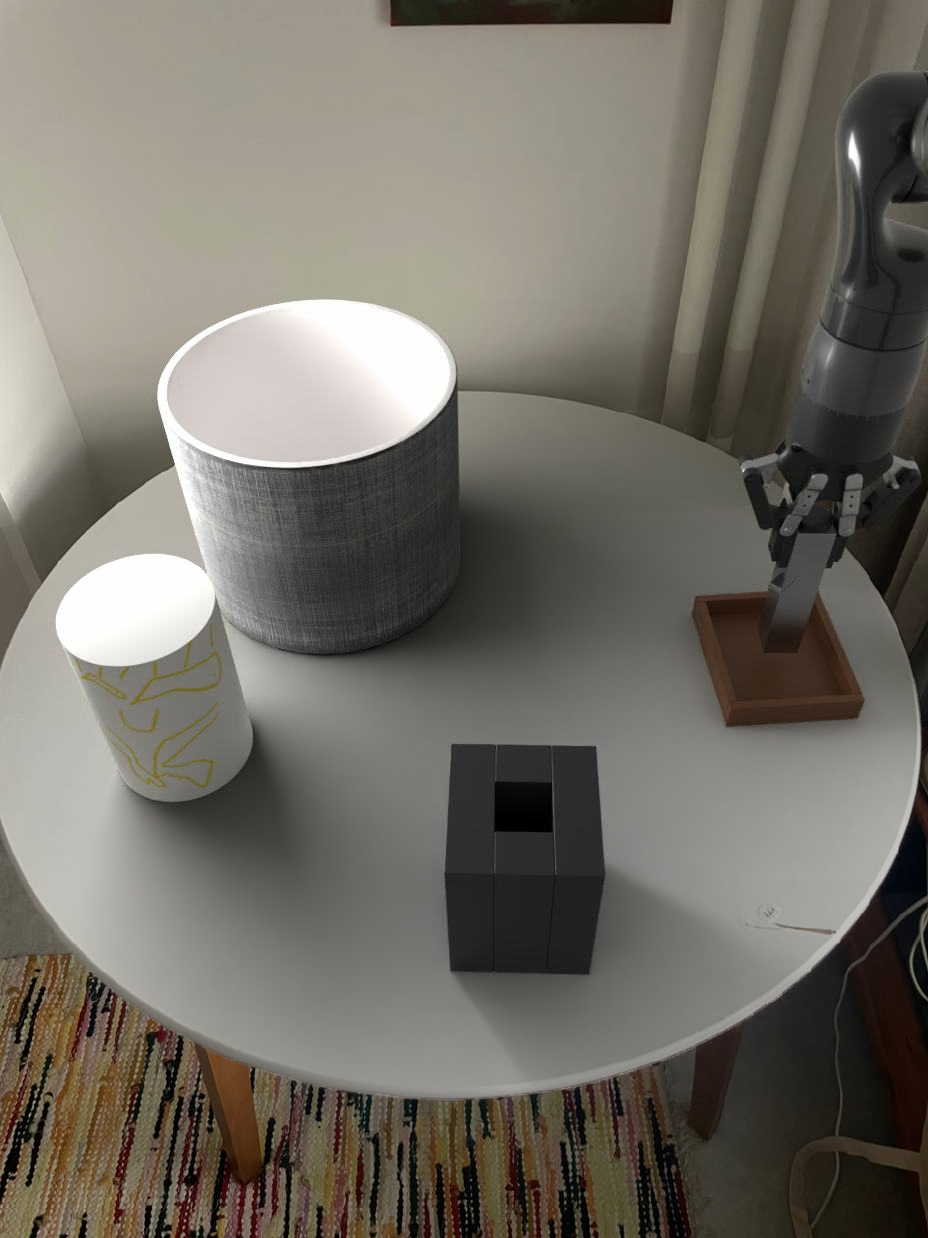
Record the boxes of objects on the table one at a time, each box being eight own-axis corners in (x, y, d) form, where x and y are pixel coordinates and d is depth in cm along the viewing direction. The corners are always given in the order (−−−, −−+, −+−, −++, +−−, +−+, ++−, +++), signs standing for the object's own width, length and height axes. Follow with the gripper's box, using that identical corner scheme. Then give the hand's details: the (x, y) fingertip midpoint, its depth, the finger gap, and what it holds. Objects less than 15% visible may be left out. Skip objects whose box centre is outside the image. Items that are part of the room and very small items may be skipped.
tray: (858, 718, 89) (865, 700, 87) (725, 727, 89) (730, 709, 87) (811, 606, 98) (817, 588, 97) (691, 613, 98) (695, 595, 96)
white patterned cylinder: (115, 813, 84) (50, 678, 71) (118, 705, 91) (60, 566, 79) (257, 787, 85) (218, 651, 73) (248, 683, 93) (211, 543, 81)
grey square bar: (803, 617, 93) (843, 492, 82) (816, 665, 89) (860, 540, 79) (739, 616, 93) (771, 491, 83) (749, 664, 89) (784, 539, 79)
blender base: (582, 852, 80) (596, 745, 70) (589, 975, 74) (605, 876, 63) (455, 849, 81) (450, 743, 71) (450, 972, 74) (444, 873, 64)
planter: (188, 660, 95) (127, 470, 79) (229, 485, 112) (186, 301, 96) (463, 655, 95) (457, 464, 79) (461, 481, 112) (456, 296, 96)
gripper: (763, 412, 69) (721, 593, 82) (975, 413, 69) (900, 594, 81) (746, 351, 74) (709, 530, 87) (943, 351, 74) (877, 531, 86)
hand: (802, 560), depth 84 cm, fingers closed on grey square bar, 3 cm apart
